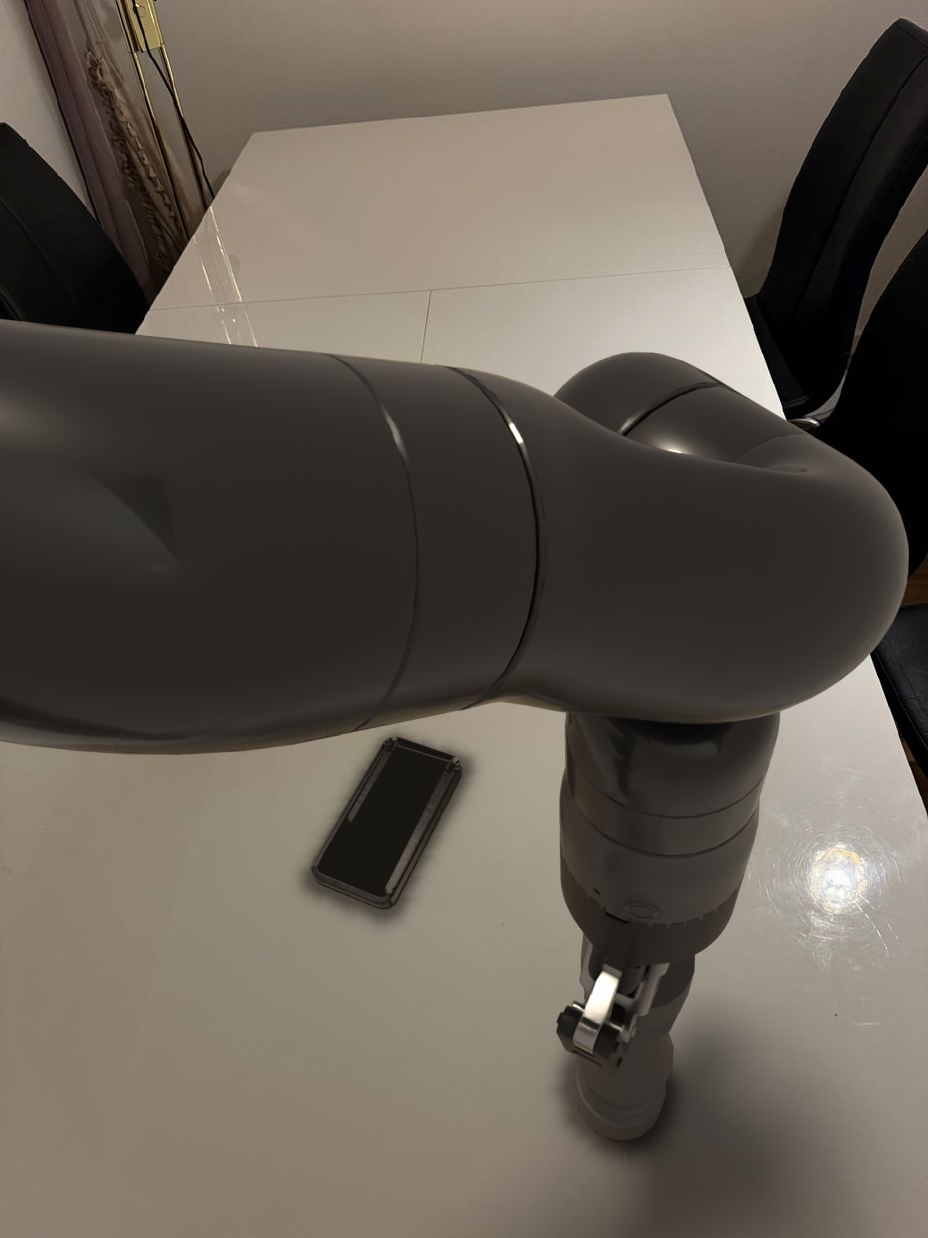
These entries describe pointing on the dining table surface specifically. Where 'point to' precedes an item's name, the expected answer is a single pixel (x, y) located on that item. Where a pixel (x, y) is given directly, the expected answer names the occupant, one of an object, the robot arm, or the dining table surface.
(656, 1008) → the candle holder
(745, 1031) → the dining table surface
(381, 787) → the phone
